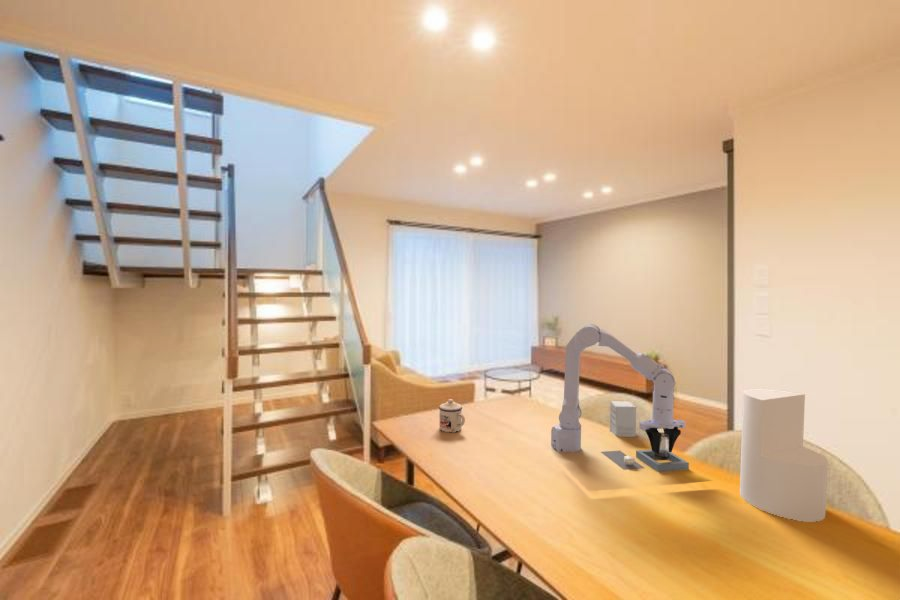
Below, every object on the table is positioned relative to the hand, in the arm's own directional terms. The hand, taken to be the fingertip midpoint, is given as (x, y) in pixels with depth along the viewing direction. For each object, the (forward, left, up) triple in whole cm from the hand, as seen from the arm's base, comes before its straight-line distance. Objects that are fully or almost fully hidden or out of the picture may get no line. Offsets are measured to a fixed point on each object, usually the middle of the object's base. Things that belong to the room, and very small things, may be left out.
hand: (661, 451), depth 125 cm
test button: (-11, 0, -4) cm, 12 cm away
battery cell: (0, 0, -2) cm, 2 cm away
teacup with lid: (-59, +42, -5) cm, 72 cm away
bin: (0, 0, -5) cm, 5 cm away
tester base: (-11, +4, -5) cm, 13 cm away
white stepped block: (+17, -23, -5) cm, 29 cm away
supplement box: (+3, +26, -5) cm, 26 cm away
